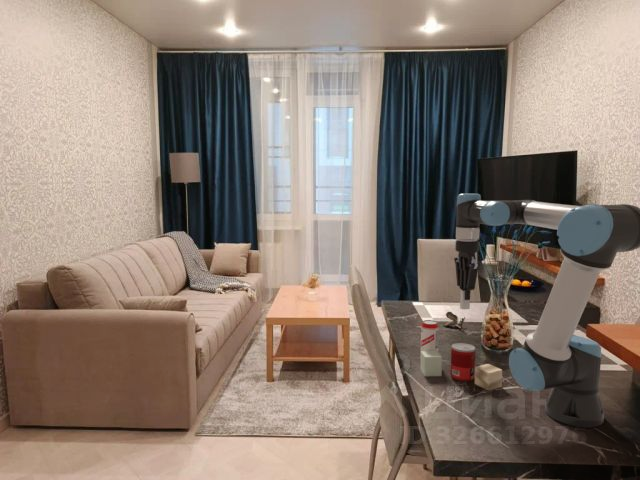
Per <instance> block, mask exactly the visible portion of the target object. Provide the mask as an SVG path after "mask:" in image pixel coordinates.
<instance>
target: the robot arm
mask: <svg viewBox="0 0 640 480" xmlns="http://www.w3.org/2000/svg"><path fill="white" fill-rule="evenodd" d="M481 197H482V195H481V194H479V193H460V194H458V195H457V201H456V220H455V221H456V223H455V224H456V225H455V239H456V240H455V251H456V252H458V254H457V257H454V259H453V260H454V264H455V275H456V285H457V287H459V289H460V295H459V297H460V299H459V309H460V310H470V308H471V307H470V306H471V291H474V290H475V289H476V284H477V283H476V282H477V277H478V271H479V268H480V266H481V265H480V264H481V263H480V262H477V261H476V258H477V257H476V253H478V252H479V249H480V241H479V239H480V231H481V230H480V226H481V225H487V226H491V227H492V226H495V227H498V226H503V225H514V224H516V225H517V224H520V225H526V226H534V227H539V228H546V229H550V230H557V231H556V236H557V237H558V238H557V241H558V245H559V246H560V249H559V252H560V254H561V255H562V257H563V260H562V263H561V265H560V268H559V270H558V273H557V275H556V277H555V281H554V283H553V286H552V288H551V290H550V293H549V296H548V299H547V301H546V303H545V306H544V308H543V311H542V313H541V316H540V318H539V321H538V324H537V326H536V329H535V330H534V331H533V332H529V333H528V334H527V335H526V338H525V340H524V343H523V345H522V347H515V349H513V350H511V352H510V353H509V356H508V365H509V370H510V372H511V375H512V377H513V379H514V380H515V382H516V383H517V384H518V385H519V386H520V387H521V388H522V389H524V390H526V391H529V392H535V391H539V392H540V391H543V390H548V389H550V392H549V395H548V398H546V401H545V403H544V411H545V413H546V415H547V416H548V417H550V418H551V419H553V420H555V421H557V422H559V423H562V424H565V425H567V426H572V427H577V428H586V429H588V428H597V427H600V426H601V425H602V424H604V421H605V420H604V418H605V411H604V409H603V406H602V402H601V398H600V395H599V388H600V379H601V378H600V377H601V376H600V375H601V367H602V366H601V363H602V362H601V361H602V347H601V345H600V344H599V343H598V342H597V341H596V340H593V339H590V338H587V337H583V336H580V335H574V333H575V331H576V329H577V327H578V325H579V322H580V320H581V318H582V315H583V313H584V311H585V308H586V306H587V304H588V302H589V299H590V297H591V295H592V292H593V290H594V287H595V285H596V283H597V282H598V281H597V280H598V278H599V277H600V274H601V273H602V272H603V271H605V270H608V269H610V268H611V267H612V265H613V263H614V261H615V258H616V256H617V254H618V253H625V252H626V253H627V252H632V251H635V250H637V249H640V207H638V206H636V205H632V204H628V203H627V204H625V203H621V204H586V205H571V204H562V203H552V202H551V203H550V202H544V201H536V200H533V199H522V200H521V199H520V200H518V199H517V200H515V199H514V200H482V198H481ZM480 224H481V225H480Z"/></svg>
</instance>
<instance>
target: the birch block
mask: <svg viewBox="0 0 640 480" xmlns="http://www.w3.org/2000/svg"><path fill="white" fill-rule="evenodd" d="M474 385H476V386H477V387H480V388H482V389H484V390H486V391H488V392H489V391H492V390H495V389H499V388H502V385H503V369H501V368H499V367H497V366H494V365H492V364H490V363H485V364H481V365H478V366H475V374H474Z"/></svg>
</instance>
